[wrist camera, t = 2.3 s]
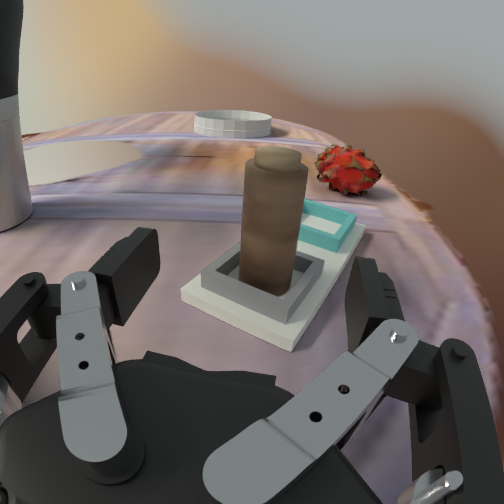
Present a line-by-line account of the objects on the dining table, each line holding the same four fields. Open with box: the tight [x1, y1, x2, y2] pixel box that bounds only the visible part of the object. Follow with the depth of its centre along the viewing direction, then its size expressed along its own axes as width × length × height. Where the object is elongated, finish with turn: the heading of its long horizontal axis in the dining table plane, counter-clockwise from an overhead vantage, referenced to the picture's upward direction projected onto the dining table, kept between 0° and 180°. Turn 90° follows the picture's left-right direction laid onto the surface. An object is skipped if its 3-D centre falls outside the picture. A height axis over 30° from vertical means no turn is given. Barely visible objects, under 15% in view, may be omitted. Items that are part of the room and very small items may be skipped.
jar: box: [239, 146, 308, 297], centre depth 25 cm, size 4×4×11 cm
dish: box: [194, 110, 271, 138], centre depth 87 cm, size 22×22×5 cm
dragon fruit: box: [315, 144, 382, 196], centre depth 50 cm, size 8×8×12 cm
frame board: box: [180, 199, 366, 352], centre depth 32 cm, size 22×10×3 cm, turn 150°
